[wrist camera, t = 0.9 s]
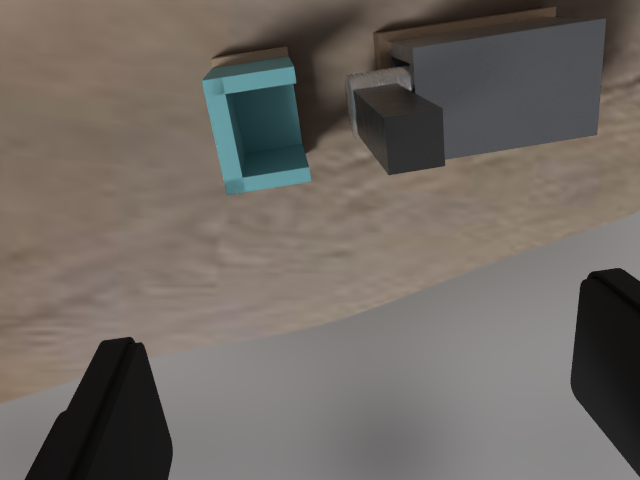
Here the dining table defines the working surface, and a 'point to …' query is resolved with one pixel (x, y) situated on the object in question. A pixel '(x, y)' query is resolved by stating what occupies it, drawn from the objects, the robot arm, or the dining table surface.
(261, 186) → the far socket
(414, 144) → the tube
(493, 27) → the tube sleeve
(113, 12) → the dining table surface
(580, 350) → the robot arm
